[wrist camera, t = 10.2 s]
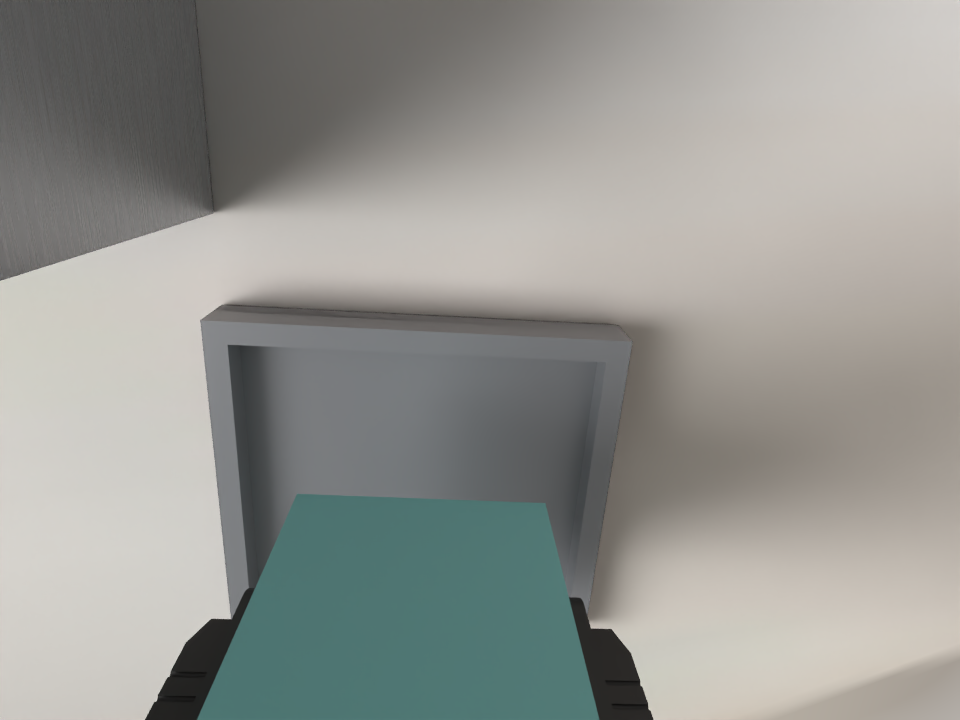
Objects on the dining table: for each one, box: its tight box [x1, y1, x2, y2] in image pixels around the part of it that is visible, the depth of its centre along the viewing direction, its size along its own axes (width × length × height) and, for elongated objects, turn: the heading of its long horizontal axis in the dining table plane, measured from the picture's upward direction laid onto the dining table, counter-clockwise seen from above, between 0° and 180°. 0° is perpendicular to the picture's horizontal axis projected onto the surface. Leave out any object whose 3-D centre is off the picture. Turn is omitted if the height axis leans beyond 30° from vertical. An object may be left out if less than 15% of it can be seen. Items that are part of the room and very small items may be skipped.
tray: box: [200, 305, 632, 619], centre depth 14 cm, size 9×9×1 cm
